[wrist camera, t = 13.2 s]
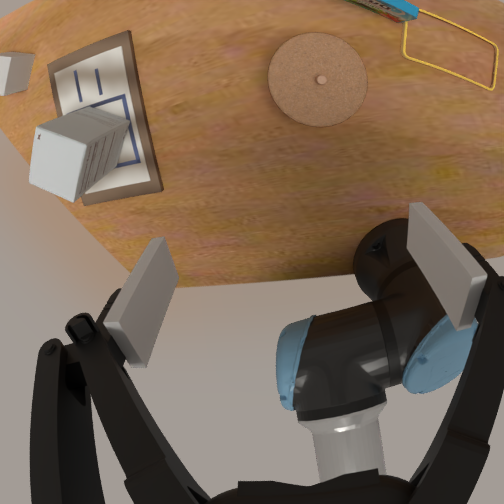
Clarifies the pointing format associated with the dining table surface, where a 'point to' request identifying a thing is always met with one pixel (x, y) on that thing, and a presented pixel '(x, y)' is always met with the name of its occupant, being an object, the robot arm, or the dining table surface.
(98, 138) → the supplement box
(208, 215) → the dining table surface
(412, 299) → the robot arm
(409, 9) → the yogurt
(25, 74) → the gray cube
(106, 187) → the brown framed board
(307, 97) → the lidded jar
